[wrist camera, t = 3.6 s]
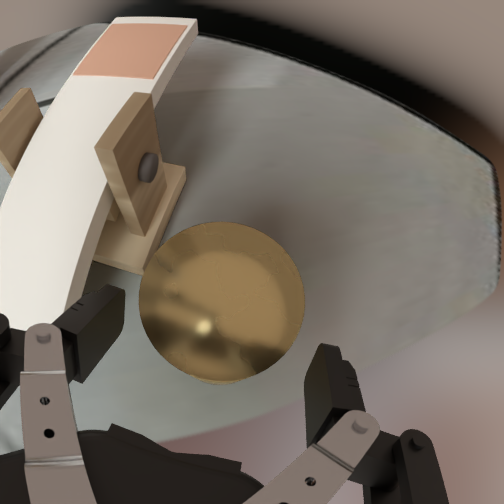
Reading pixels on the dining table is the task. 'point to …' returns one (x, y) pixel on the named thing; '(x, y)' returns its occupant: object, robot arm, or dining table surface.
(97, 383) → the dining table surface
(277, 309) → the disc
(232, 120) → the dining table surface
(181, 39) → the balance beam
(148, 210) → the pivot stand
